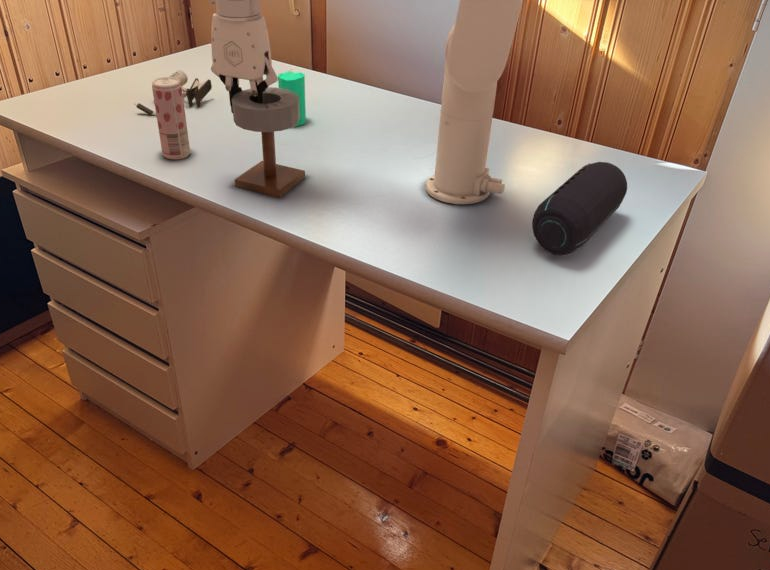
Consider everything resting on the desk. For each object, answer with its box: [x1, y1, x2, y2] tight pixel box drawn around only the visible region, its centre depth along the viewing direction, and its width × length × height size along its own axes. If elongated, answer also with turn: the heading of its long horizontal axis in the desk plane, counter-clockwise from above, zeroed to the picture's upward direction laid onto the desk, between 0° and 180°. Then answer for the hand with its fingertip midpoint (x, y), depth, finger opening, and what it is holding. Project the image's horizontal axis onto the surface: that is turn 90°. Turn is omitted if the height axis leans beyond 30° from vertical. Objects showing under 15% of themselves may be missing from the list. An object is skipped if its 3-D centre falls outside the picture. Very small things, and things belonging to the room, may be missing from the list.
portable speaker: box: [531, 161, 628, 256], centre depth 125 cm, size 25×10×10 cm, turn 145°
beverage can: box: [151, 76, 191, 160], centre depth 144 cm, size 6×6×15 cm
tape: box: [232, 86, 300, 133], centre depth 131 cm, size 12×12×4 cm
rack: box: [234, 131, 306, 198], centre depth 136 cm, size 10×10×14 cm
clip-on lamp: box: [133, 69, 213, 116], centre depth 169 cm, size 12×6×18 cm
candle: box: [277, 70, 307, 127], centre depth 161 cm, size 6×6×12 cm
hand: (247, 112), depth 133 cm, fingers closed on tape, 3 cm apart
